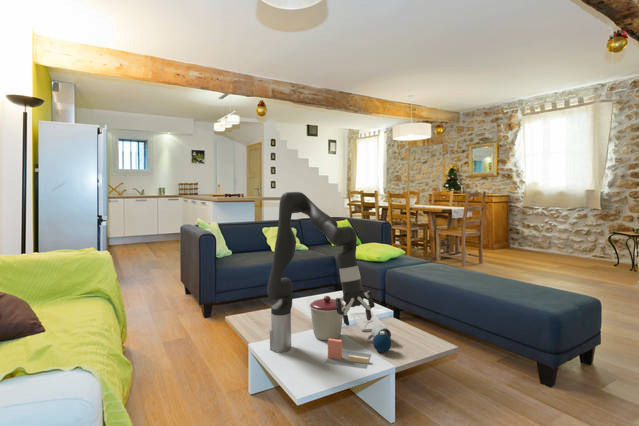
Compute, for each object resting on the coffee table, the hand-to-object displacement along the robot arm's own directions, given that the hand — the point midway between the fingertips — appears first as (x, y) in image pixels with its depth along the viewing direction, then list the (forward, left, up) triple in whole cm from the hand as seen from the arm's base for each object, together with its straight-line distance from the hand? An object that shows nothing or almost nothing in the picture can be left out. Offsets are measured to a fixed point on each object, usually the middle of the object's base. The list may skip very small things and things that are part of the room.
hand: (358, 322), depth 136 cm
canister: (-25, +43, -26) cm, 56 cm away
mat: (-9, +22, -25) cm, 35 cm away
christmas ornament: (+4, +34, -26) cm, 43 cm away
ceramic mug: (+1, +45, -26) cm, 52 cm away
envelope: (-9, +69, -26) cm, 74 cm away
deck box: (-15, +21, -25) cm, 36 cm away
